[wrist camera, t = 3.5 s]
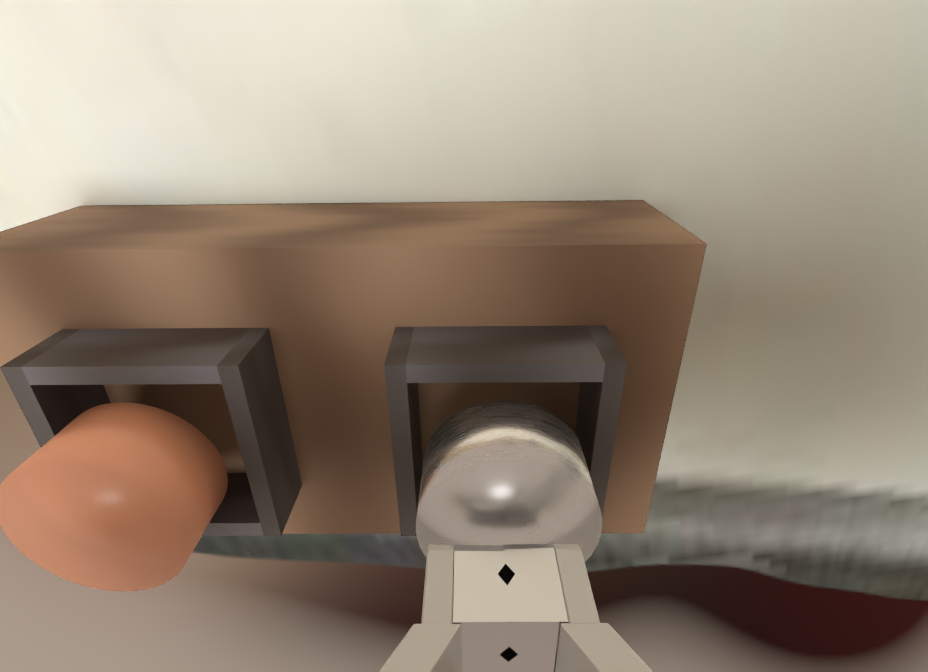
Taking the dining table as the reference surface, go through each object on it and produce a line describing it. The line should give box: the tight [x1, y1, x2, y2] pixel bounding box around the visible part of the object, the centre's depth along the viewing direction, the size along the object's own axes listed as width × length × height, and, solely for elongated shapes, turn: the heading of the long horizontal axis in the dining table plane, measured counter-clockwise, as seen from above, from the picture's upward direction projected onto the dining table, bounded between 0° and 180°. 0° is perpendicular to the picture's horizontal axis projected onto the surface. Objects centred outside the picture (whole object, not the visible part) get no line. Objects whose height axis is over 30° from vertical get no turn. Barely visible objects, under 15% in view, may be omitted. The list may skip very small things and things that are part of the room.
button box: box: [0, 200, 707, 536], centre depth 16 cm, size 19×10×7 cm, turn 91°
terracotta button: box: [0, 402, 228, 591], centre depth 12 cm, size 4×4×2 cm
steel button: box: [416, 400, 602, 562], centre depth 12 cm, size 4×4×2 cm
